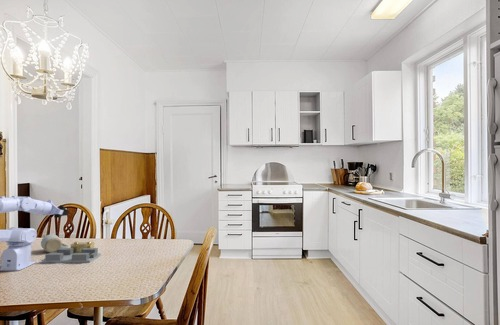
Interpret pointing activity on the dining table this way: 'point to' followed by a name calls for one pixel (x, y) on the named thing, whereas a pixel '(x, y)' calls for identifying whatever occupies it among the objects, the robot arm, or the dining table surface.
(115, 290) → the dining table surface
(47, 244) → the ceramic mug
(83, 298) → the dining table surface
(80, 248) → the link
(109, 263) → the dining table surface
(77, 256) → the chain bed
